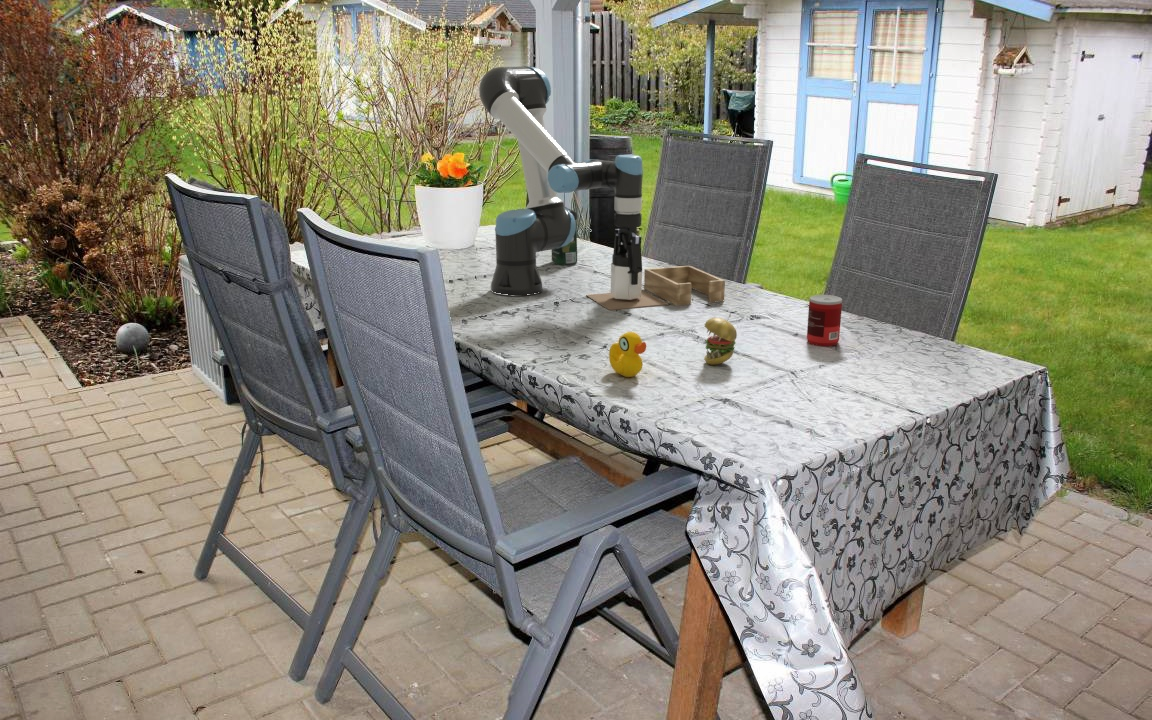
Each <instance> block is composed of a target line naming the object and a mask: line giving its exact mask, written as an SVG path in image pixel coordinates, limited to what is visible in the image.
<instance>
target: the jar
mask: <svg viewBox="0 0 1152 720" xmlns="http://www.w3.org/2000/svg"><path fill="white" fill-rule="evenodd" d="M611 259H612V260H611V263H610V293H611V296H613V297H614V298H615V299H625V300H632V299H636V298H640V297H641V291H642V290H643V289H642V288H643V287H642V285H643V284H642V283H643V282H642V281H643V280H642V279H643V271H642V272H639V273H638V295H637V296H628V271H630V269H629V262H628V255H627V253H615V254H612V258H611Z"/></svg>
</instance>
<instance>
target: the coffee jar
mask: <svg viewBox="0 0 1152 720" xmlns="http://www.w3.org/2000/svg"><path fill="white" fill-rule="evenodd" d="M564 208H565V209H567V210H569V211H570V213H571V214H573V216H574V219H575V224H576V229H575V234H574V237H573V238H572V240H571V242H570V243H569V244H567V245H566V246H564V247H560V248H558V249H551V261H552V263H554V264H556V265H558V266H559V265H560V266H572V265H574V264H577V263H578V237H577V235H578V234H577V233H578V232H577V231H578V212H577V211H575V210H573V209H571V208H568V207H567V206H564Z"/></svg>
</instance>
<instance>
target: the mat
mask: <svg viewBox="0 0 1152 720" xmlns="http://www.w3.org/2000/svg"><path fill="white" fill-rule="evenodd" d="M587 296H588V297H587ZM585 297H587V298H589V299H590V298H591V299H590V300H592V299H593V300H594V302H595V301H596V302H595V303H597V304H598V305H600V306H601V307H603V308H605V309H606V310H608V311H615V310H628V309H638V308H649V307H651V308H652V307H659V306H660V307H661V306H669V305H670V303H669V302H668V301H666V300H664V299H662V298H660V297H658V296H656V295H655V296H654V294H652V293H650V292H649V291H647V290H645V289H642V291H641V297H640V298H636V299H632V300H625V299H615V298H614V297H613V296H611V292H605V293H604V292H603V293H595V294H594V293H592V294H586V295H585ZM593 300H592V301H593Z"/></svg>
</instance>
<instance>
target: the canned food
mask: <svg viewBox="0 0 1152 720" xmlns="http://www.w3.org/2000/svg"><path fill="white" fill-rule="evenodd" d="M842 309H843V298H842V297H840V296H837V295H834V294H833V295H832V294H831V295H830V294H815V295H811V296H810V297H809V302H808V313H807V329H806V341H807V342H808V343H809V345H812V346H816V347H832V346H833V345H834V346H835V345H837V344H838V343H839V341H840V332H841V323H842Z"/></svg>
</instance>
